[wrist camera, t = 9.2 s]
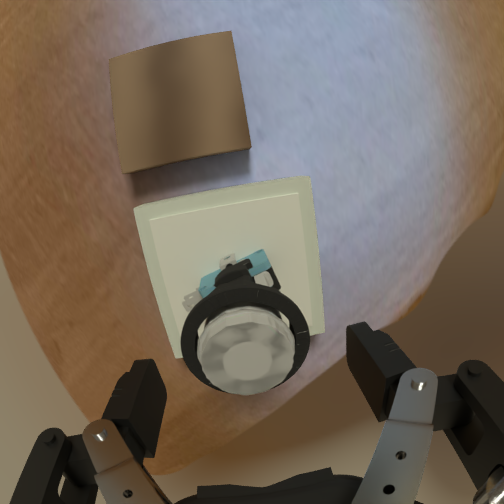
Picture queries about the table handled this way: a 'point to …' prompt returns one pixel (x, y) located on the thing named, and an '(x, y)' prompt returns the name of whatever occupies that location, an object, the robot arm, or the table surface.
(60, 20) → the table surface
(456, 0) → the table surface
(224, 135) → the walnut stand
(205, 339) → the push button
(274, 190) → the cream tray
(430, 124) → the table surface
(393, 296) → the table surface
